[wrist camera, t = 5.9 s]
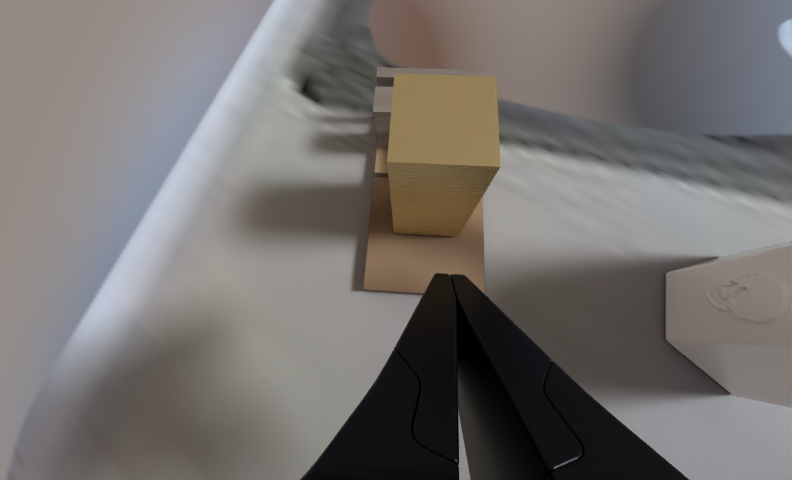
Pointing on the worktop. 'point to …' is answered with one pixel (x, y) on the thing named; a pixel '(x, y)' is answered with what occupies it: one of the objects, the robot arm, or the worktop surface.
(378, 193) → the board
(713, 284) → the lidded container
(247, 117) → the worktop surface
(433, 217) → the tan rectangular block
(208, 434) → the worktop surface
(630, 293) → the worktop surface
